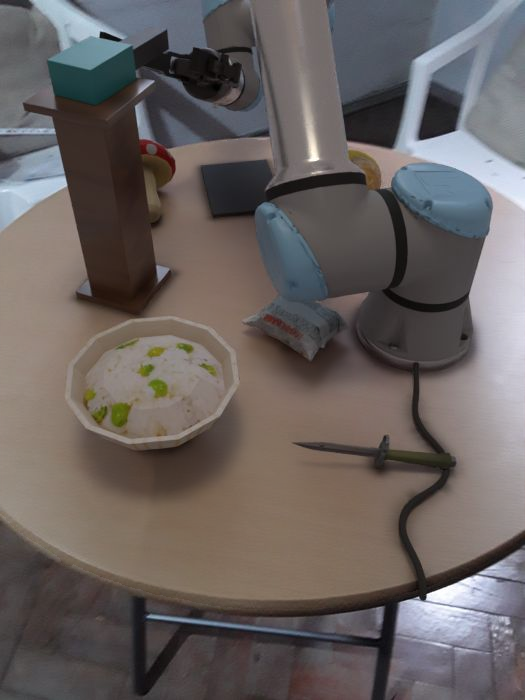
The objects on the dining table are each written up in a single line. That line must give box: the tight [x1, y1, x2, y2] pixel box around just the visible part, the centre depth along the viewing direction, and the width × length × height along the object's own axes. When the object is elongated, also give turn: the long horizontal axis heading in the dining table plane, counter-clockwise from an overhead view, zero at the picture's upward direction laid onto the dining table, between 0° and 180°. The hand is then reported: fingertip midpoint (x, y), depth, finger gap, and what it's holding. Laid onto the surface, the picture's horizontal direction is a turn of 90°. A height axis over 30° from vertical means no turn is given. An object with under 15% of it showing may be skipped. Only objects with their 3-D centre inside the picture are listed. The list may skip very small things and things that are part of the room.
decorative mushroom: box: [139, 138, 177, 224], centre depth 111 cm, size 11×11×15 cm
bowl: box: [64, 315, 240, 451], centre depth 77 cm, size 19×19×10 cm
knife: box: [291, 434, 457, 471], centre depth 75 cm, size 19×2×5 cm, turn 87°
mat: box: [200, 158, 274, 218], centre depth 118 cm, size 16×12×1 cm
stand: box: [22, 77, 172, 316], centre depth 89 cm, size 11×11×29 cm
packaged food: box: [241, 294, 351, 362], centre depth 90 cm, size 9×12×5 cm
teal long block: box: [46, 24, 170, 105], centre depth 81 cm, size 18×6×4 cm, turn 153°
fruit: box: [348, 149, 382, 190], centre depth 110 cm, size 10×11×10 cm
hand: (146, 50), depth 87 cm, fingers open, 13 cm apart
